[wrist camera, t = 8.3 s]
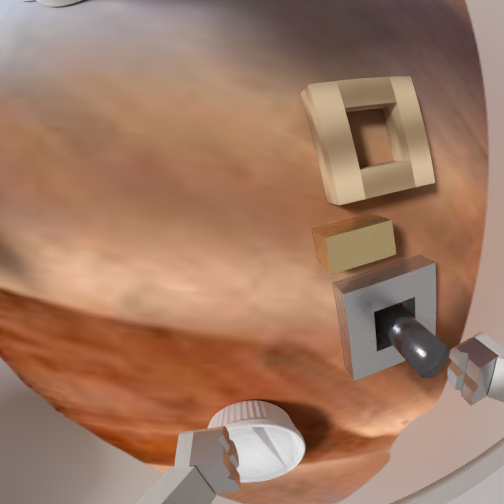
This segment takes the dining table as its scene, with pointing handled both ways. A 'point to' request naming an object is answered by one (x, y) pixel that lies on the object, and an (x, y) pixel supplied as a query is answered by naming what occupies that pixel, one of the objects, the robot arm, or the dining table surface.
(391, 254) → the bar
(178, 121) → the dining table surface
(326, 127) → the block
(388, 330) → the dark grey rounded rod
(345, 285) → the socket plate
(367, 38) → the dining table surface
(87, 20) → the dining table surface
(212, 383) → the dining table surface
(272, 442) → the ramekin
